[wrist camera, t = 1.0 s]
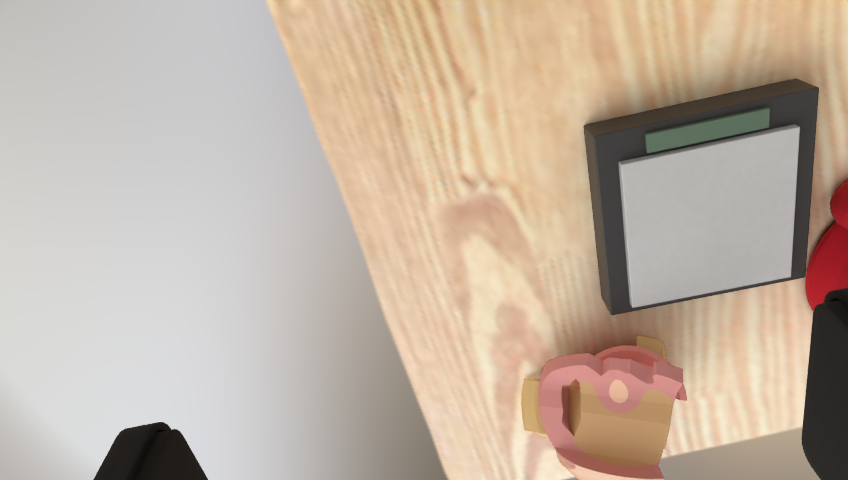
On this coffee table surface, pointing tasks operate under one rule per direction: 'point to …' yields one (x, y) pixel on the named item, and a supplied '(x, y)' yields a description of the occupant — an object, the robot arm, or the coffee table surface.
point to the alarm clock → (830, 253)
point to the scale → (703, 195)
